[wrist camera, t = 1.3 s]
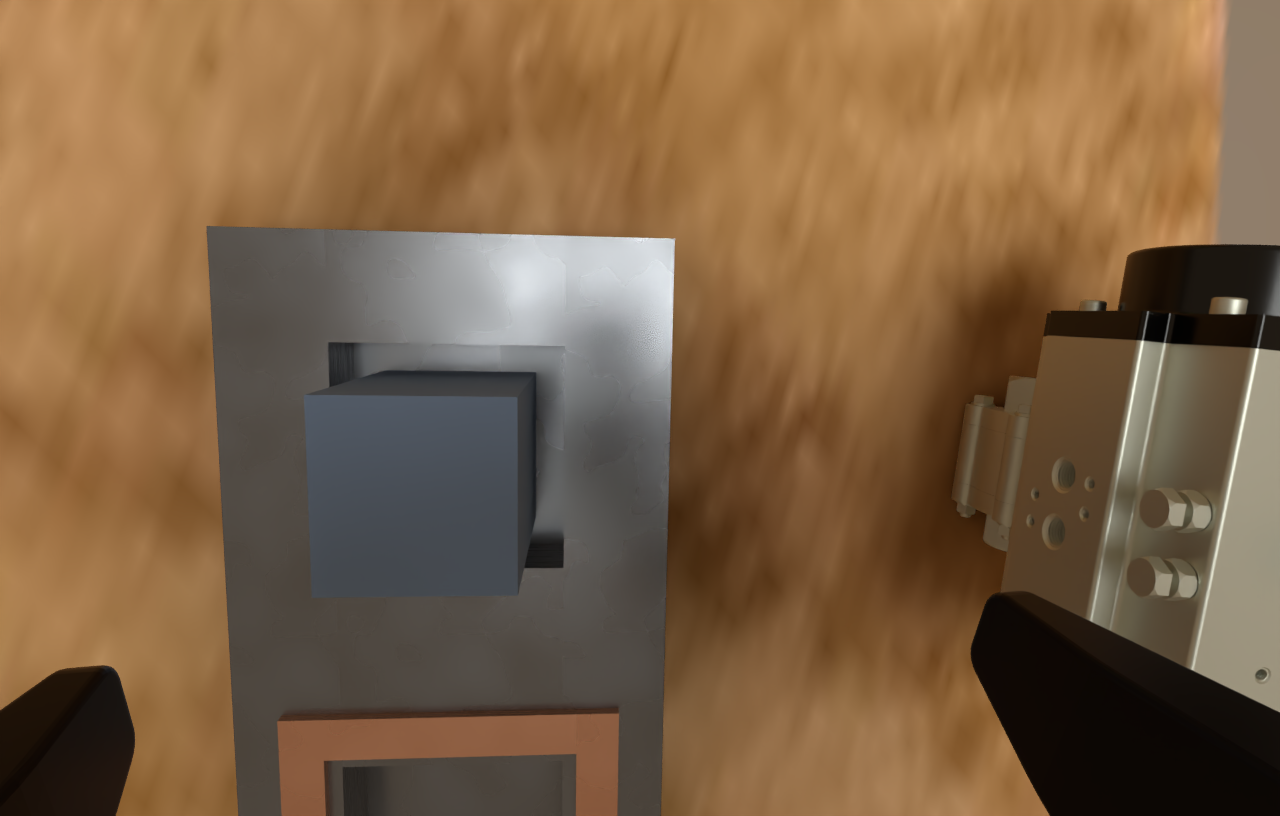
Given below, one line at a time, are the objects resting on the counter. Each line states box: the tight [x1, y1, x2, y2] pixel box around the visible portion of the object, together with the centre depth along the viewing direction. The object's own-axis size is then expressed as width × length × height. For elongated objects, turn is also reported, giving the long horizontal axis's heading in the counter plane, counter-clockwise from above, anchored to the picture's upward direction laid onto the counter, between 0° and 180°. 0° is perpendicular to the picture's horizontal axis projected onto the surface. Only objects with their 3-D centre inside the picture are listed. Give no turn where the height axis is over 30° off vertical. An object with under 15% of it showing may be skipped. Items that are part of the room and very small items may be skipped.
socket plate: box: [207, 226, 675, 816], centre depth 22 cm, size 24×12×3 cm, turn 179°
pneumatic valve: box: [951, 244, 1280, 712], centre depth 19 cm, size 6×12×12 cm, turn 174°
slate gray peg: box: [304, 370, 536, 598], centre depth 19 cm, size 4×4×6 cm
